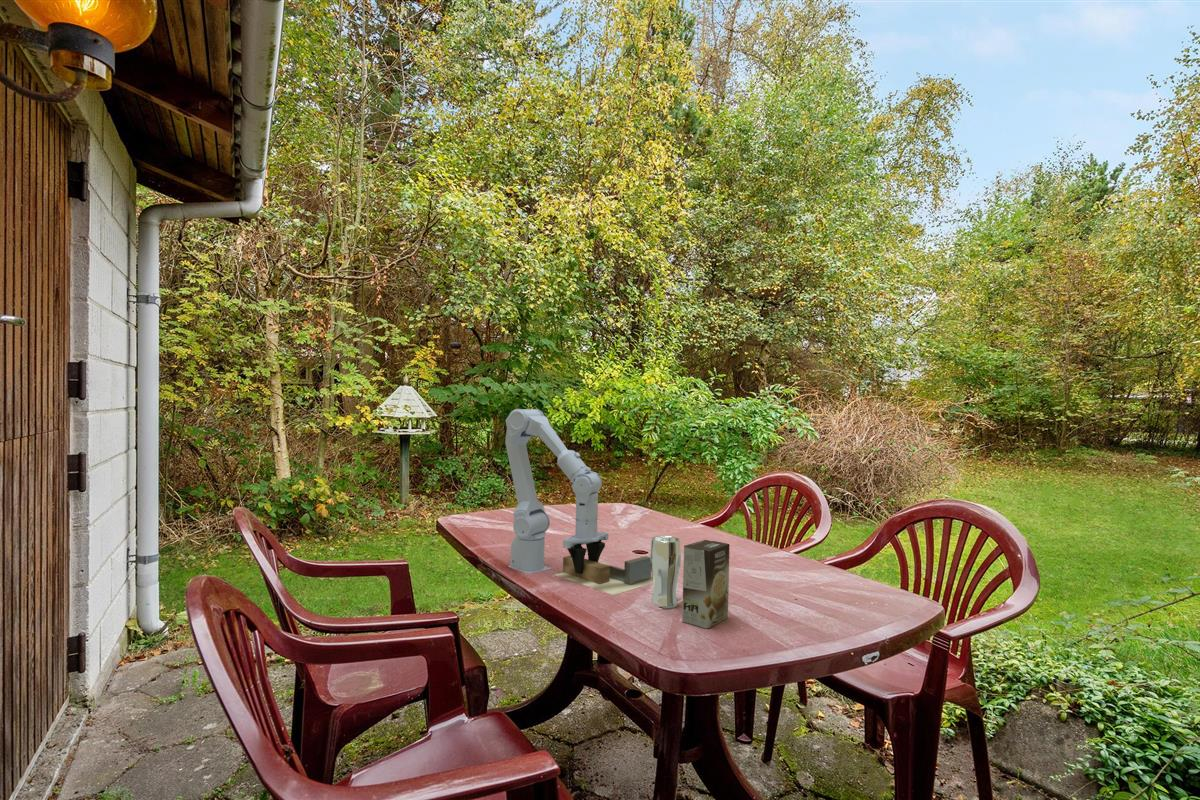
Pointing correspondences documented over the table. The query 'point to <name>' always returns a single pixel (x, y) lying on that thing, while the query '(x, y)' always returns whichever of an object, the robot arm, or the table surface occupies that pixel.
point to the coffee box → (705, 583)
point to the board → (606, 584)
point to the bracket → (632, 571)
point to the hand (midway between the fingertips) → (585, 571)
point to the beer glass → (665, 570)
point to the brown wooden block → (588, 570)
